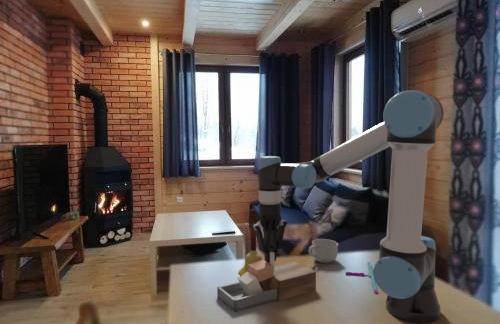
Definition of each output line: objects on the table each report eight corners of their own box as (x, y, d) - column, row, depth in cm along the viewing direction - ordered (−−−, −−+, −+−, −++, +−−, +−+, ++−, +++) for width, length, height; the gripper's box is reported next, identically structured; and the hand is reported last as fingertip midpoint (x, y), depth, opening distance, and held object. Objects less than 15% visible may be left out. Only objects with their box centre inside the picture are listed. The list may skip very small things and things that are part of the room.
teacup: (328, 255, 167) (328, 237, 166) (343, 263, 157) (343, 244, 156) (300, 259, 162) (300, 241, 161) (314, 267, 152) (314, 248, 151)
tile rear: (273, 276, 126) (272, 265, 126) (258, 281, 123) (257, 270, 123) (264, 270, 131) (263, 259, 131) (249, 275, 128) (248, 264, 128)
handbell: (276, 273, 147) (275, 209, 145) (252, 282, 138) (251, 214, 136) (254, 265, 156) (253, 205, 154) (231, 272, 147) (230, 209, 145)
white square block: (256, 277, 123) (246, 284, 121) (263, 291, 124) (253, 299, 123) (247, 271, 128) (237, 278, 126) (253, 285, 130) (244, 292, 128)
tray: (277, 299, 124) (277, 289, 123) (234, 311, 116) (234, 300, 115) (257, 286, 134) (257, 277, 134) (217, 297, 126) (217, 287, 126)
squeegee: (344, 259, 157) (370, 261, 155) (344, 263, 157) (370, 265, 155) (346, 289, 129) (377, 291, 127) (346, 294, 129) (377, 296, 127)
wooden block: (315, 290, 131) (315, 271, 130) (280, 300, 123) (280, 281, 122) (293, 277, 142) (293, 260, 141) (259, 286, 134) (258, 268, 134)
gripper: (279, 198, 133) (279, 263, 135) (247, 202, 127) (248, 270, 129) (292, 202, 127) (292, 270, 129) (259, 206, 121) (260, 278, 123)
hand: (270, 270), depth 129 cm, fingers closed
